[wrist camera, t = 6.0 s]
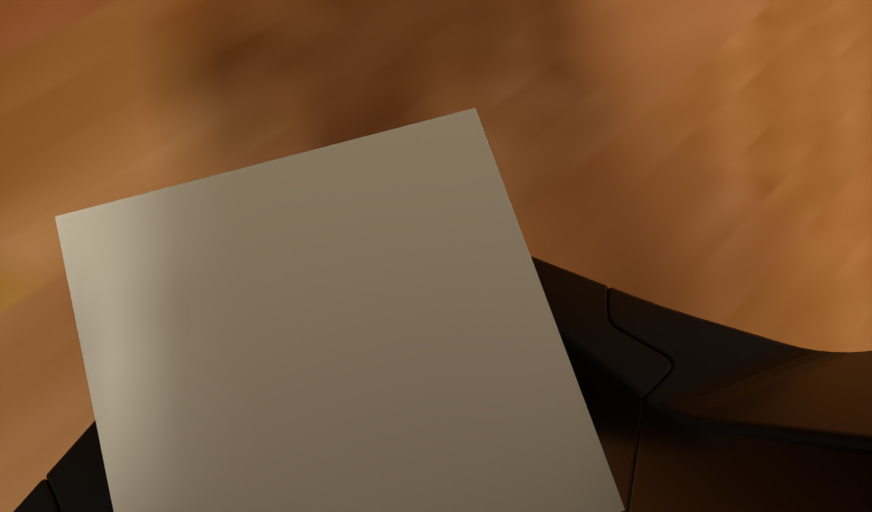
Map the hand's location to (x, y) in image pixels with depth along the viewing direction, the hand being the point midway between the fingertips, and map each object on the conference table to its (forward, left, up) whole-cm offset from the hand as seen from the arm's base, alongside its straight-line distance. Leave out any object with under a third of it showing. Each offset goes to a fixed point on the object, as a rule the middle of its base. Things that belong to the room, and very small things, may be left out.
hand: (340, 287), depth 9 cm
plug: (-1, +1, -7) cm, 7 cm away
